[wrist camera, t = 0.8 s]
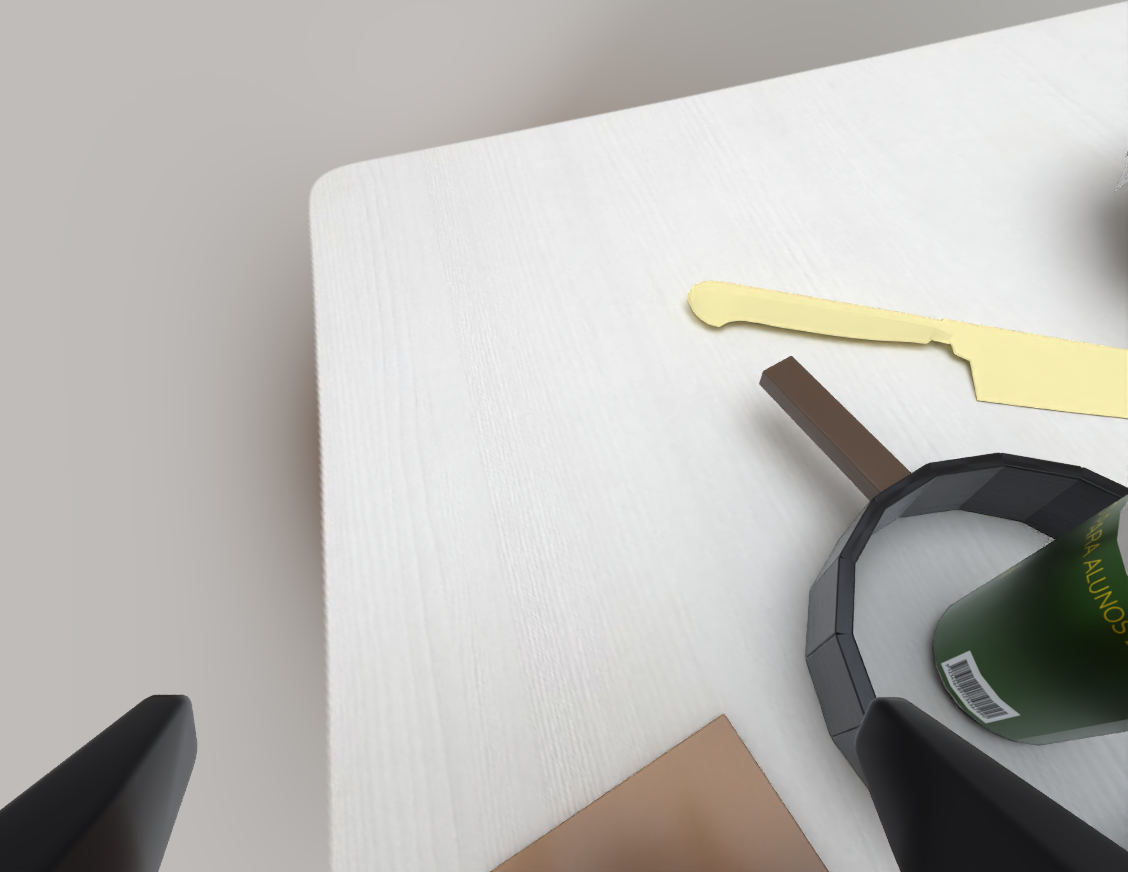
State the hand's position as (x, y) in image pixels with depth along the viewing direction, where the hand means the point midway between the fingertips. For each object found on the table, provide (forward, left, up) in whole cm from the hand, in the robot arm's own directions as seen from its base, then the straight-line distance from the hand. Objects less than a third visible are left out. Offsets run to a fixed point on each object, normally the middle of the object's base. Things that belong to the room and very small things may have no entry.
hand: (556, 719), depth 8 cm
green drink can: (-5, -15, -17) cm, 24 cm away
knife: (+4, -27, -17) cm, 33 cm away
